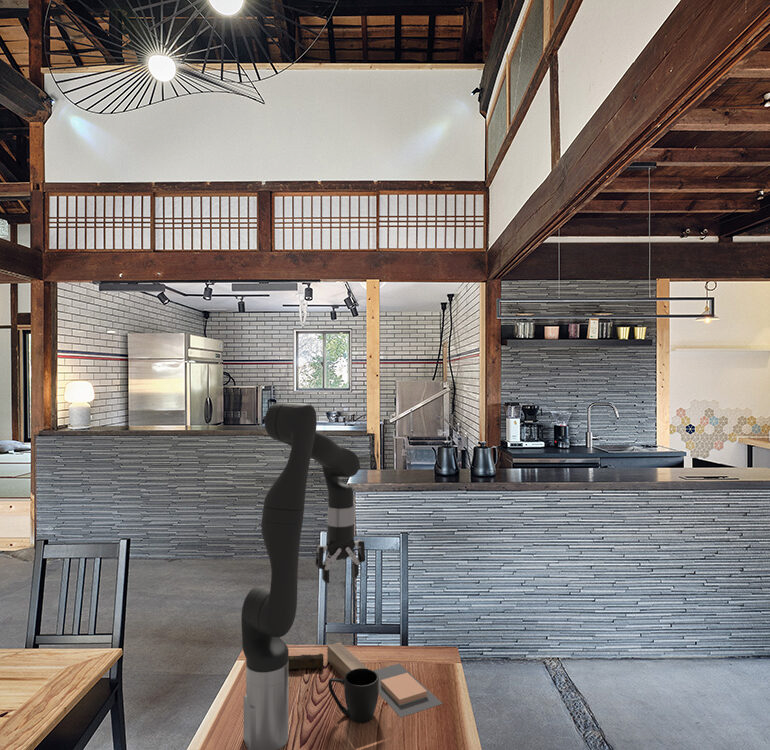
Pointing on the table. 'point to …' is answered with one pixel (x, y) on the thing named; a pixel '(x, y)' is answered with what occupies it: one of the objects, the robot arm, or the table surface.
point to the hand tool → (306, 662)
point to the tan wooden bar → (342, 659)
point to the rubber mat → (410, 707)
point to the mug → (358, 694)
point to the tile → (403, 689)
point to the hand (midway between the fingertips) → (340, 580)
